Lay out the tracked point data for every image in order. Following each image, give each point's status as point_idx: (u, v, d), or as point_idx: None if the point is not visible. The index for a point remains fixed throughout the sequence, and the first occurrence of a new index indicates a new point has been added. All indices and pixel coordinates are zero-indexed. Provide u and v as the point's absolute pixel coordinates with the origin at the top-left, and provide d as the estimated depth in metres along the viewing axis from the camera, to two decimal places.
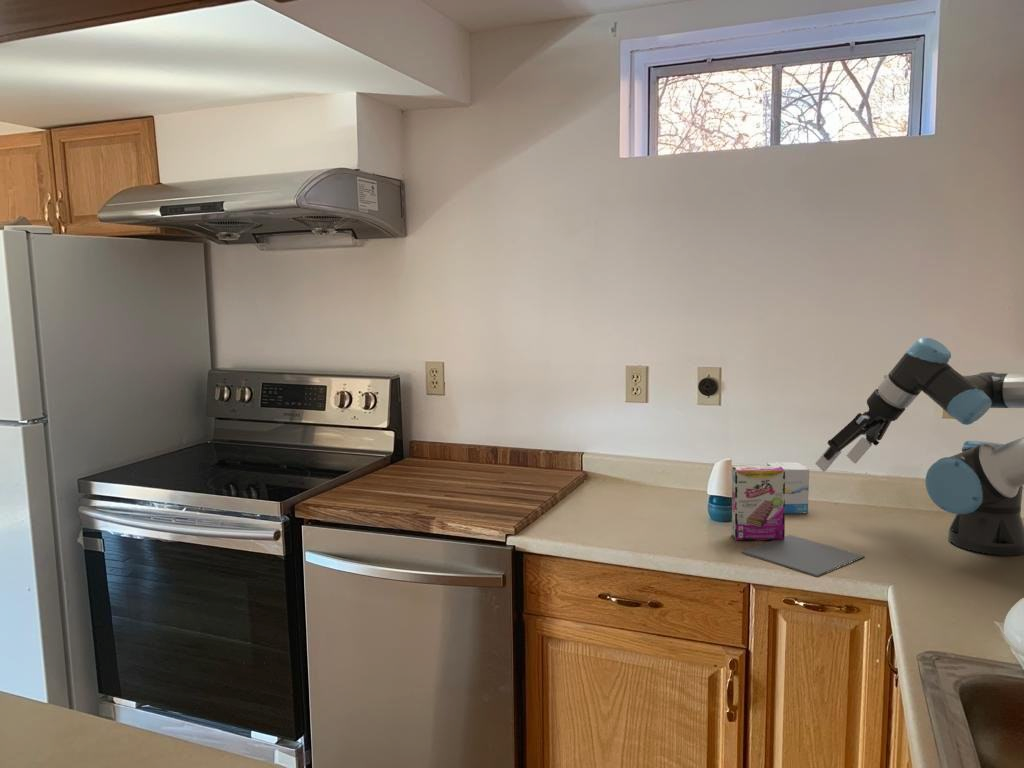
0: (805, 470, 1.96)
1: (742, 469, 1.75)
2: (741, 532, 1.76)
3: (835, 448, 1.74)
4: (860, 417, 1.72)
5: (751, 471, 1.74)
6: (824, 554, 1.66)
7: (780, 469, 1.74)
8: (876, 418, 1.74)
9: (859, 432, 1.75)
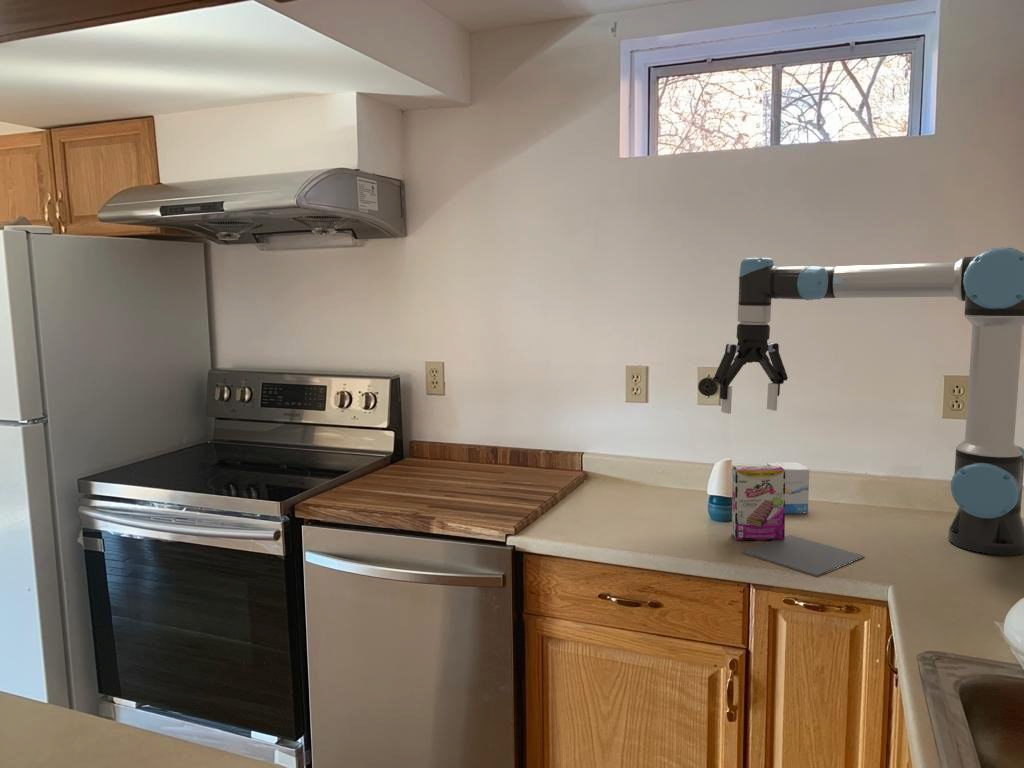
0: (805, 470, 1.96)
1: (742, 469, 1.75)
2: (741, 532, 1.76)
3: (718, 380, 1.81)
4: (728, 346, 1.83)
5: (751, 471, 1.74)
6: (824, 554, 1.66)
7: (780, 469, 1.74)
8: (747, 344, 1.83)
9: (739, 362, 1.83)
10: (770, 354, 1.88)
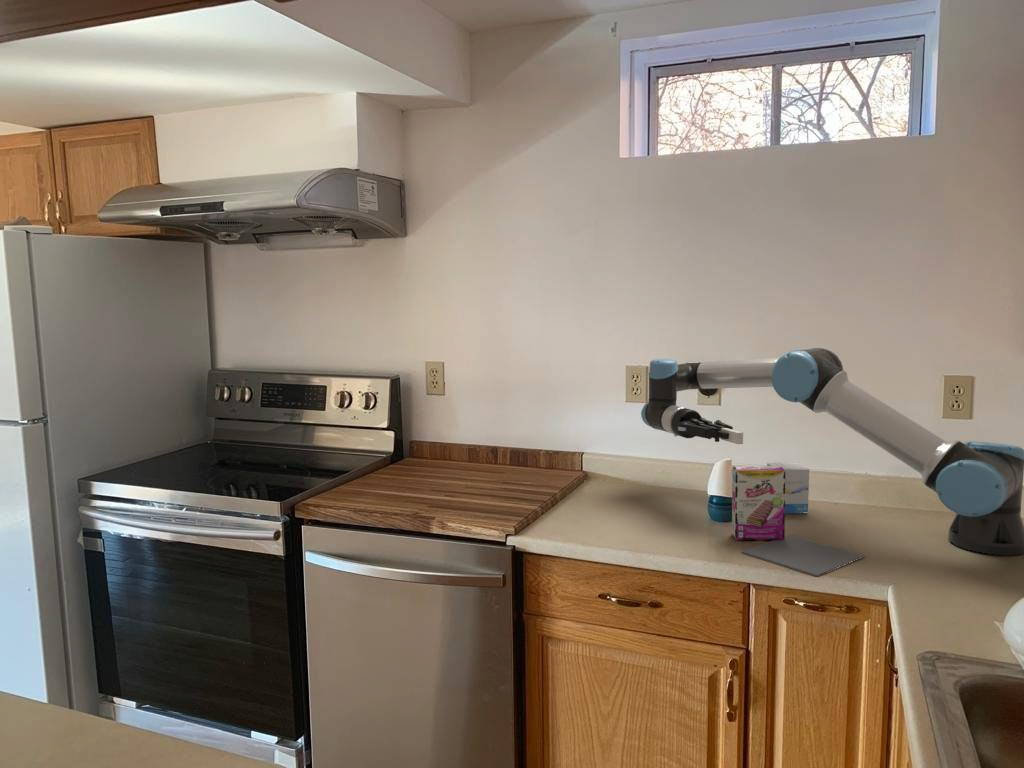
0: (805, 470, 1.96)
1: (742, 469, 1.75)
2: (741, 532, 1.76)
3: (708, 429, 1.87)
4: (679, 429, 1.94)
5: (751, 471, 1.74)
6: (824, 554, 1.66)
7: (780, 469, 1.74)
8: (683, 421, 1.98)
9: (700, 425, 1.93)
10: None
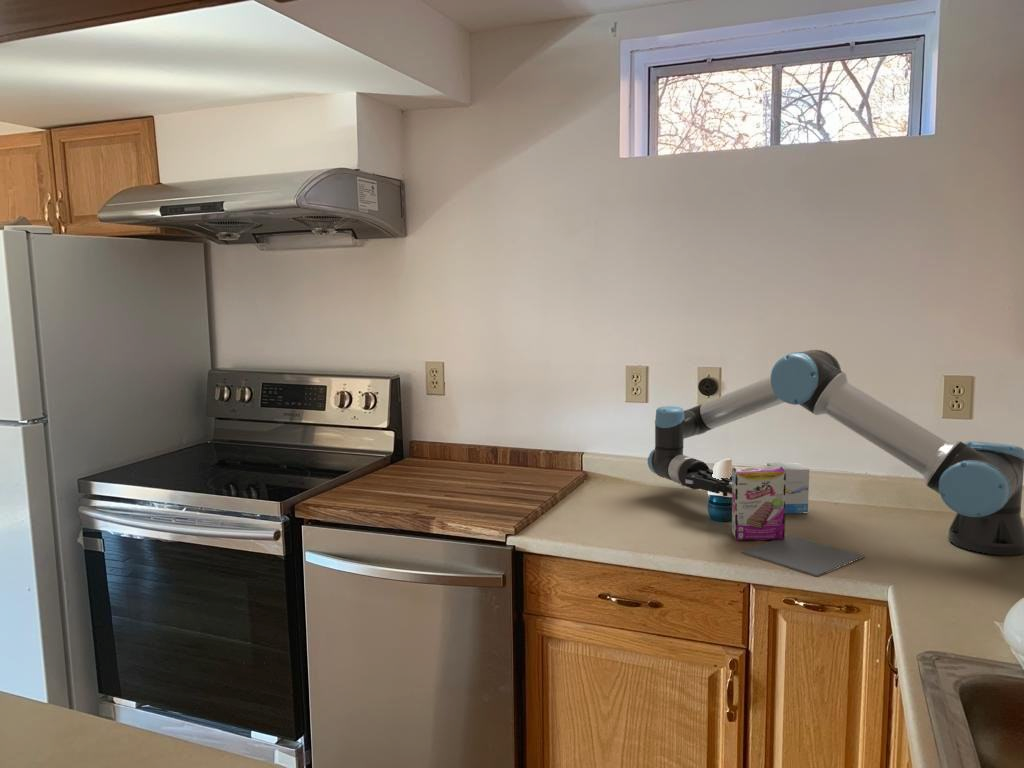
0: (805, 470, 1.96)
1: (742, 471, 1.74)
2: (741, 533, 1.76)
3: (716, 484, 1.85)
4: (686, 482, 1.91)
5: (751, 473, 1.73)
6: (824, 554, 1.66)
7: (781, 470, 1.73)
8: (690, 473, 1.95)
9: (708, 478, 1.90)
10: None
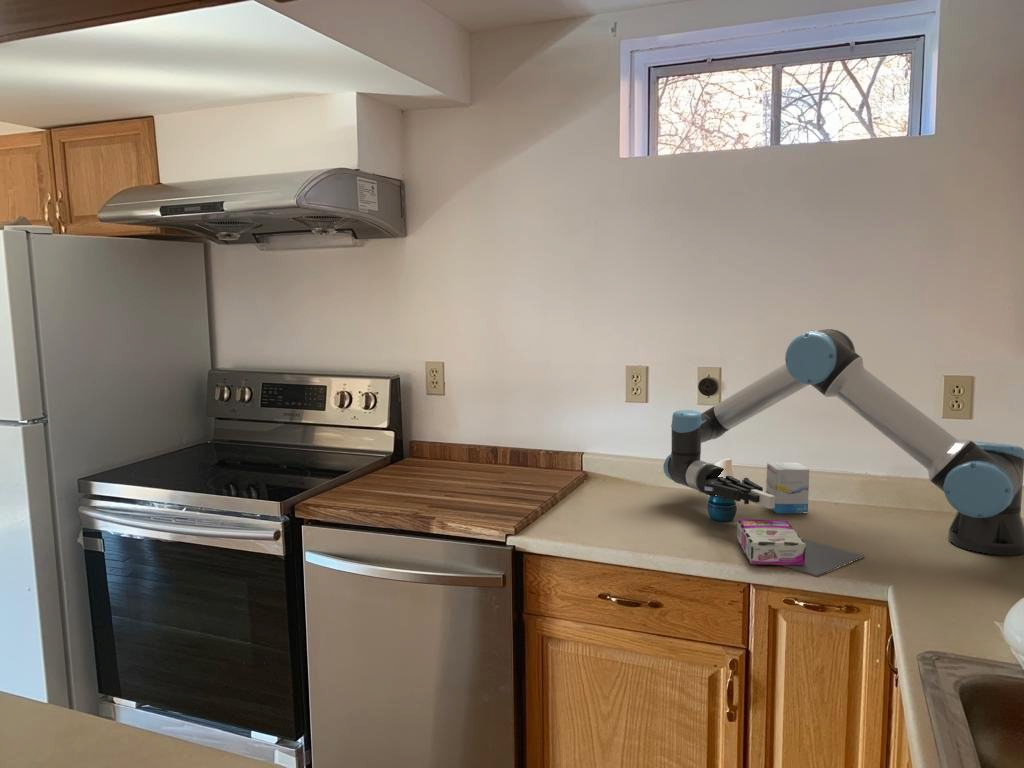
0: (805, 470, 1.96)
1: (759, 559, 1.60)
2: None
3: (737, 491, 1.78)
4: (706, 489, 1.84)
5: None
6: (824, 554, 1.66)
7: (800, 561, 1.59)
8: (709, 479, 1.88)
9: (728, 485, 1.83)
10: None
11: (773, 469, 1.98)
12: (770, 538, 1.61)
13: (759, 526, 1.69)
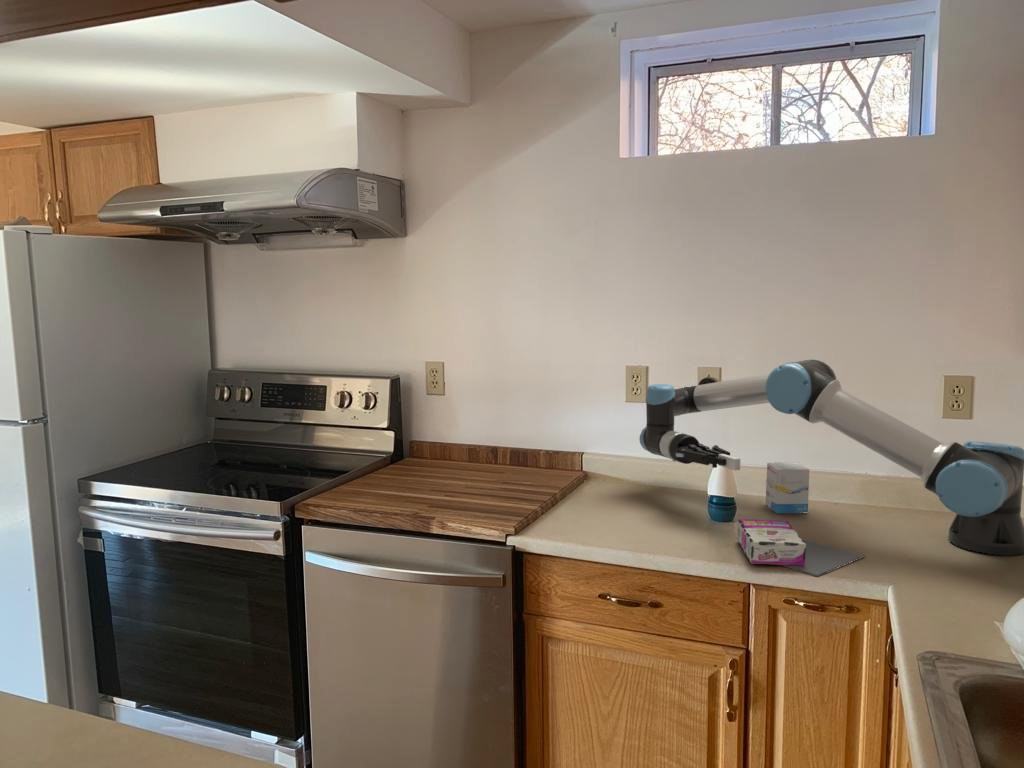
0: (805, 470, 1.96)
1: (759, 559, 1.60)
2: None
3: (705, 456, 1.88)
4: (677, 456, 1.95)
5: (767, 563, 1.60)
6: (824, 554, 1.66)
7: (801, 562, 1.59)
8: (681, 447, 1.99)
9: (698, 451, 1.94)
10: None
11: (773, 469, 1.98)
12: (771, 538, 1.61)
13: (760, 526, 1.69)
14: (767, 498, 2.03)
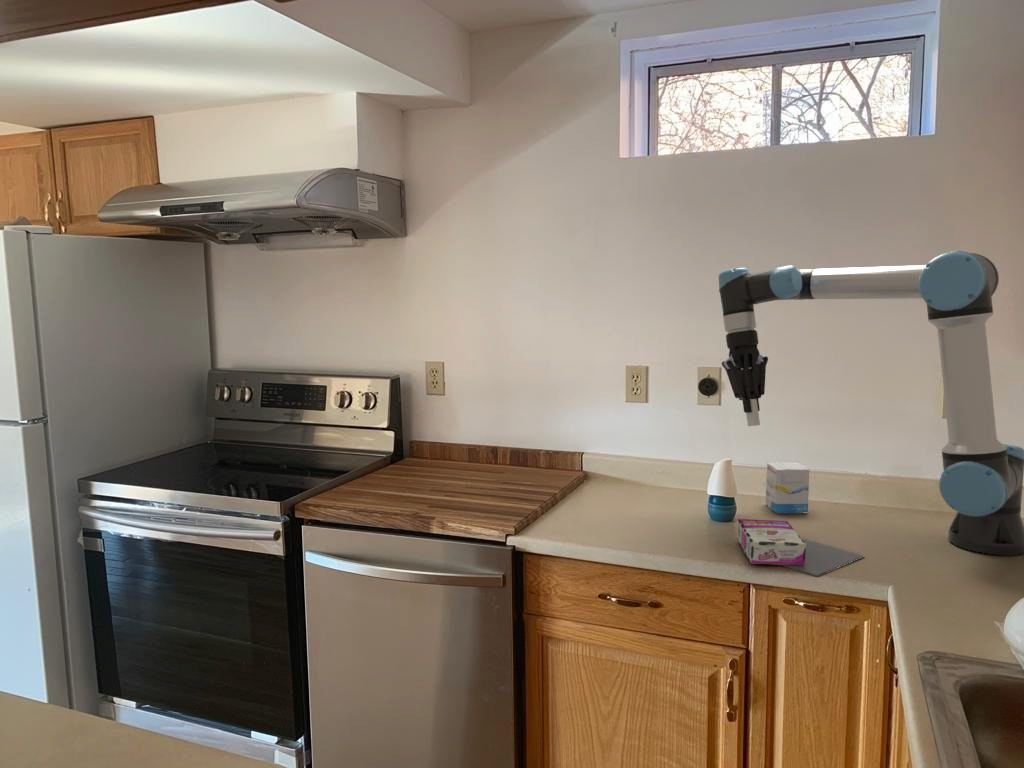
0: (805, 470, 1.96)
1: (759, 559, 1.60)
2: None
3: (741, 396, 1.89)
4: (724, 364, 1.90)
5: (767, 563, 1.60)
6: (824, 554, 1.66)
7: (801, 562, 1.59)
8: (737, 350, 1.90)
9: (743, 373, 1.90)
10: (757, 366, 1.94)
11: (773, 469, 1.98)
12: (771, 538, 1.61)
13: (760, 526, 1.69)
14: (767, 498, 2.03)
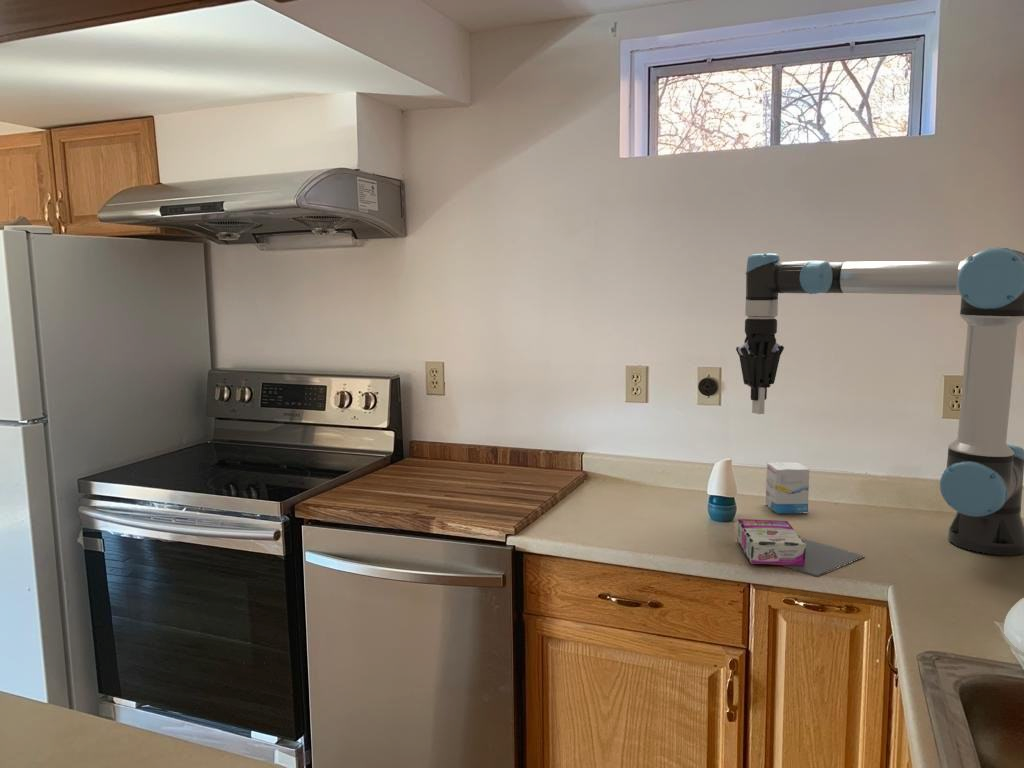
0: (805, 470, 1.96)
1: (759, 559, 1.60)
2: None
3: (749, 384, 1.88)
4: (738, 350, 1.88)
5: (767, 563, 1.60)
6: (824, 554, 1.66)
7: (801, 562, 1.59)
8: (753, 337, 1.87)
9: (756, 361, 1.88)
10: (771, 354, 1.92)
11: (773, 469, 1.98)
12: (771, 538, 1.61)
13: (760, 526, 1.69)
14: (767, 498, 2.03)
